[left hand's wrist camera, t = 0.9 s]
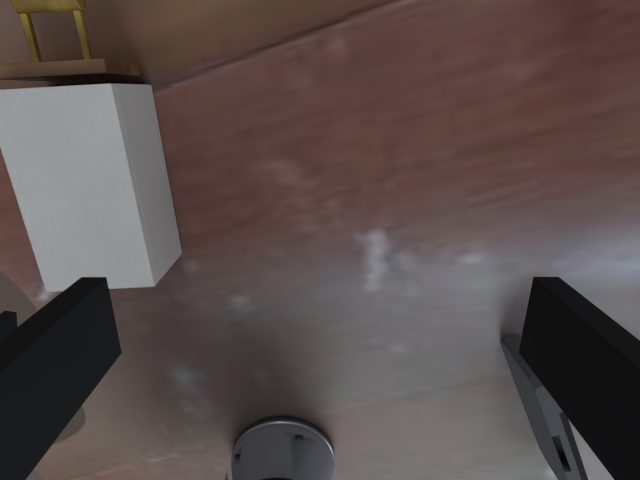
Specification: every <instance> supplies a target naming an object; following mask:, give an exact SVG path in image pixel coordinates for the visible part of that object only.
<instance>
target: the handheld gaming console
mask: <svg viewBox="0 0 640 480" xmlns="http://www.w3.org/2000/svg"><path fill="white" fill-rule="evenodd" d="M500 343H501V346H502V349H503V352H504V354H505V357H506V360H507V362H508V365H509V368H510V370H511V373H512V376H513V378H514V381H515V384H516V386H517V389H518V392H519V394H520V397H521V400H522V402H523V405H524V408H525V410H526V413H527V416H528V419H529V421H530V424H531V427H532V429H533V432H534V435H535V437H536V440H537V442H538V445H539V447H540V449H541V451H542V453H543V455H544V457H545V459H546V461H547V462H548V464H549V465H550V467H551V469H552V470H553V472H554V474H555V475H556V477H557V479H558V480H588V478H587V475H586V472H585V469H584V466H583V463H582V460H581V457H580V454H579V451H578V448H577V445H576V442H575V439H574V436H573V433H572V430H571V427H570V424H569V421H568V418H567V416H566V415H565V414H564V412H563V411H562V410H561V408H560V407H559V406H558V404H557V403H556V402H555V400H554V399H553V398H552V396H551V395H550V394H549V392H548V391H547V390H546V388H545V387H544V386H543V384H542V383H541V382H540V381H539V379H538V378H537V377H536V375H535V374H534V373H533V371H532V370H531V369H530V367H529V366H528V365H527V363H526V362H525V361H524V359H523V358H522V357H521V355H520V354H519V348H520V343H521V337H520V335H519V334H513V335H510V336H508V337H505V338H502V340H501V342H500Z"/></svg>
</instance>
